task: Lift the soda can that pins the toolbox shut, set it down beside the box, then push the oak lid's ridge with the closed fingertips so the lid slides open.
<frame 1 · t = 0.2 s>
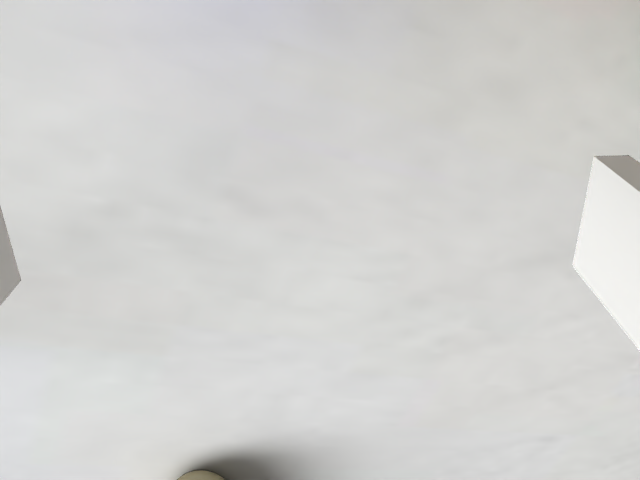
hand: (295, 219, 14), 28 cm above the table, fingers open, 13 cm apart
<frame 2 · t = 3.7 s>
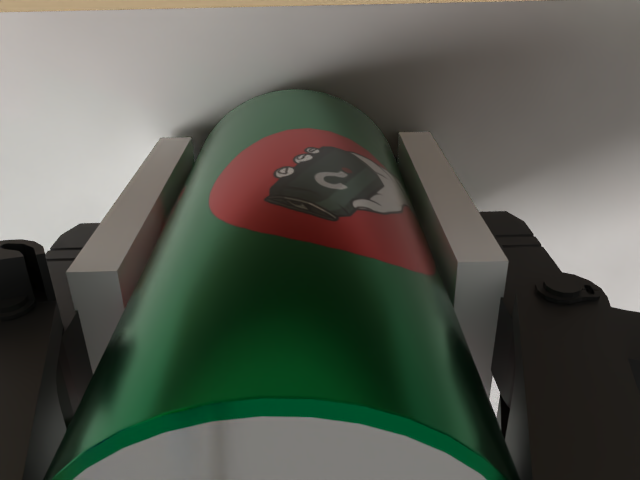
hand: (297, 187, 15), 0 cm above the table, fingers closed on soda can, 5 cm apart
soda can: (297, 179, 16), on the table, touching gripper
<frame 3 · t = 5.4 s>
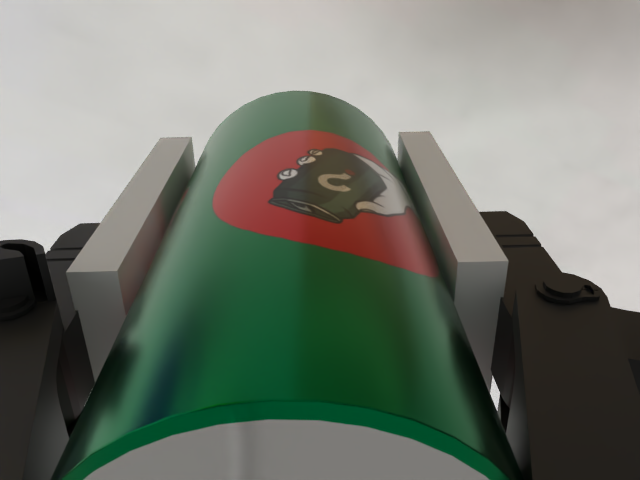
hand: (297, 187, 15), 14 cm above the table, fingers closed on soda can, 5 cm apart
soda can: (299, 180, 16), point 14 cm above the table, touching gripper
when the fingers open (2 cm above the table, at t = 7.4 s): soda can drops 1 cm, on the table.
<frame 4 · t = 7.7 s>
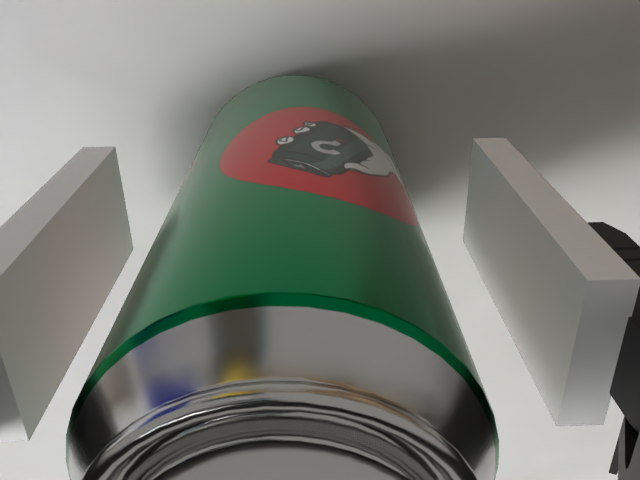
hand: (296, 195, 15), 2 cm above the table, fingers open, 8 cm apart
soda can: (296, 160, 17), on the table
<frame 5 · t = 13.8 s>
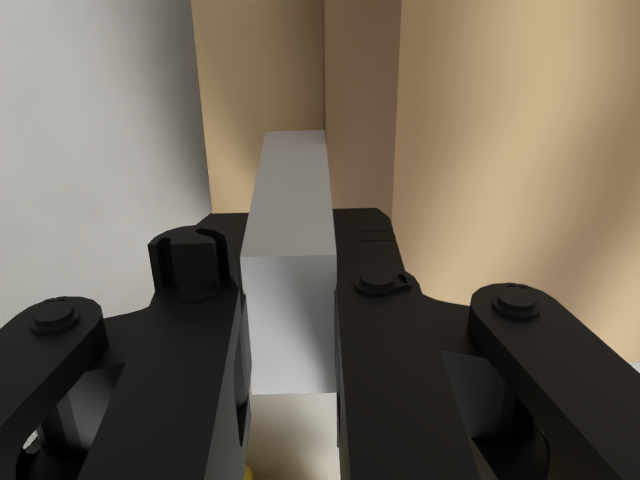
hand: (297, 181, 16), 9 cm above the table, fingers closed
lid: (615, 171, 16), point 8 cm above the table, slide at 0.1 cm, touching gripper
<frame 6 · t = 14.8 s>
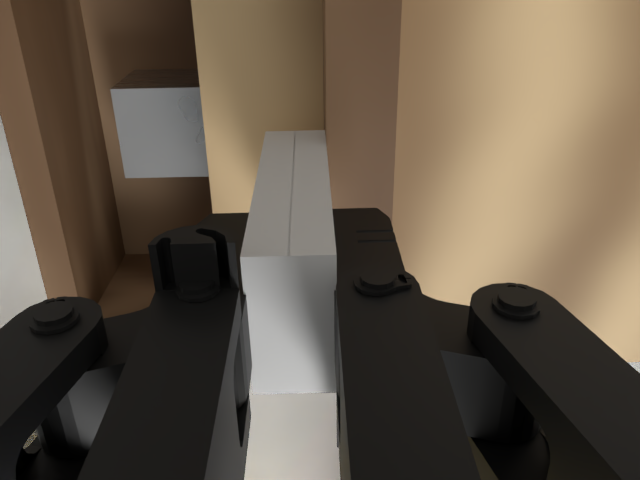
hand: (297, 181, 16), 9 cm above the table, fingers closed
toolbox: (367, 101, 23), on the table
lid: (615, 171, 16), point 8 cm above the table, slide at 6.0 cm, touching gripper
steel block: (207, 109, 23), point 1 cm above the table, touching toolbox
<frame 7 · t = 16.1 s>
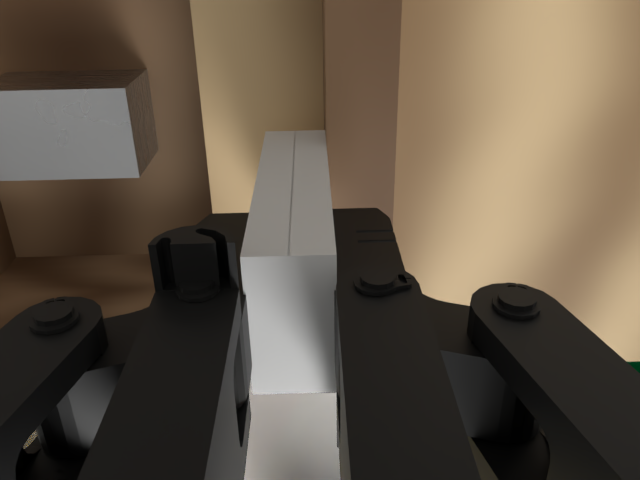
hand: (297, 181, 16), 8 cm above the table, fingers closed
toolbox: (249, 102, 23), on the table
lid: (618, 169, 16), point 8 cm above the table, slide at 10.5 cm, touching gripper
steel block: (85, 111, 22), point 1 cm above the table, touching toolbox
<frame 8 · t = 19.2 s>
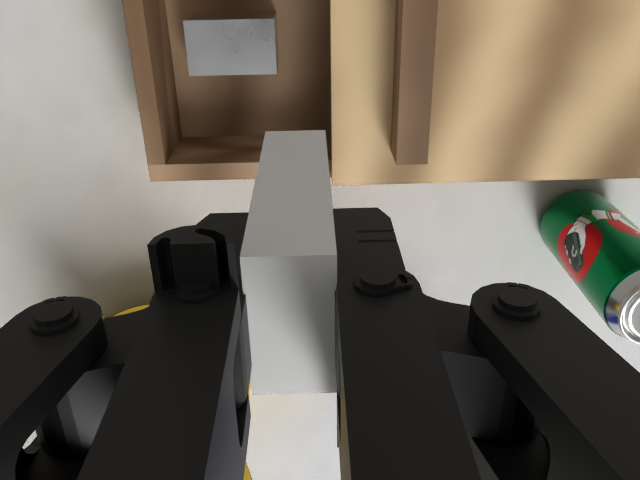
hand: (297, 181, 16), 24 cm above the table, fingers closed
toolbox: (335, 35, 37), on the table
lid: (551, 55, 30), point 8 cm above the table, slide at 10.5 cm
steel block: (236, 39, 37), point 1 cm above the table, touching toolbox
soda can: (571, 218, 44), on the table
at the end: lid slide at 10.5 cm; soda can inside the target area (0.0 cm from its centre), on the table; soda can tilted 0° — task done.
